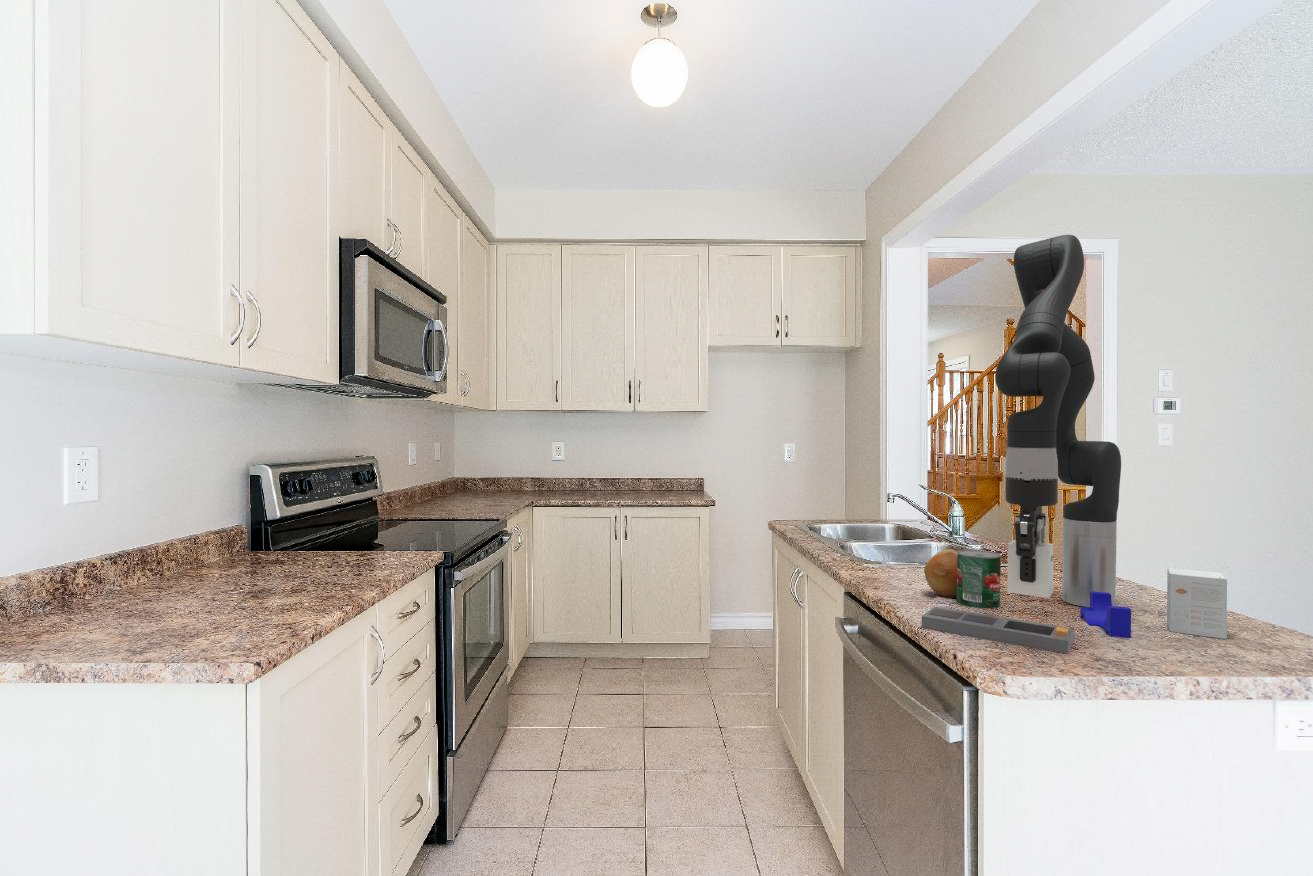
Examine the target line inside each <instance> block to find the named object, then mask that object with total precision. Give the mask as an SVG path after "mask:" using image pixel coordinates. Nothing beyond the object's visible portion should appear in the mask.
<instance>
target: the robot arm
mask: <svg viewBox="0 0 1313 876" xmlns="http://www.w3.org/2000/svg"><path fill="white" fill-rule="evenodd" d="M1084 268H1085V256H1084V251H1083V247H1082V243H1081V242H1080V240H1079V238H1078V237H1077V236H1075V235H1074V234H1063V235H1057V236H1053V237H1049V238H1046V239H1042V240H1038V241H1033V242H1030V243H1027V244H1022V245H1020V246H1018V247H1017V248H1016V249H1015V251H1014V253H1013V269H1014V275H1015V278H1016V281H1017V286H1018V289H1019V293H1020V295H1021V296H1020V297H1021V299H1022V303H1023V306H1024V310H1023V311H1022V313H1021V315H1020V317H1019V321H1018V324H1017V328H1016V332H1015V338H1014V340H1013V341H1012V343H1011V345H1010V346H1009V347H1008V348H1007V350H1006V351H1005V353H1004V354H1003V355H1002V356H1001V359H1000V360H999V361H998V363H997V367H996V370H995V375H994V376H995V378H994V381H995V385H996V387H997V389H998V391H999V392H1000V393H1002V394H1003V395H1004V396H1006V397H1012V398H1013V397H1014V398H1018V397H1024V398H1025V397H1043V398H1042V401H1041V402H1040V404H1039V405H1038V406H1036V407H1034V408H1031V409H1026V410H1021V411H1017V412H1014V413H1011V414H1010V415H1009V416H1008V419H1007V449H1006V450H1007V451H1006V456H1005V486H1004V487H1005V494H1004V495H1005V502H1006V503H1007V504H1011V505H1018V506H1019V508H1020V509H1019V513H1018V515H1015V520H1014V521H1015V522H1014V525H1013V526H1014V529H1015V533H1014V534H1015V540H1016V554H1017V556H1019V558H1020V580H1021V581H1023V582H1031V583H1033V582H1035V580H1036V557H1037V546H1039V545H1040V544H1041V543H1045V539H1046V525H1047V515H1046V513H1043V510H1042V509H1043V508H1042V507H1052V506H1053V507H1054V506H1055V505H1057V504H1058V499H1059V498H1058V495H1059V493H1058V492H1059V491H1058V490H1059V489H1058V488H1059V487H1058V486H1059V483H1058V482H1059V481H1061V482H1062V483H1063V484H1066V485H1070V486H1071V485H1073V486H1085V487H1092V490H1091V494H1090V495H1089V496H1087V497H1085V498H1083V499H1081V500H1076V501H1073V502H1068V503H1066V504H1065V505H1064V506H1063V512H1062V514H1063V515H1062V517H1063V521H1062V525H1063V527H1062V529H1063V530H1062V531H1063V533H1062V538H1063V539H1062V581H1061V583H1062V585H1061V586H1062V587H1061V589H1062V590H1061V591H1062V592H1061V594H1062V595H1061V596H1062V597H1061V599H1062V601H1063V602H1065V603H1068V604H1071V605H1075V606H1078V607H1089V608H1090V591H1091V592H1106V593H1110V594H1111V601H1112V606H1116V595H1117V594H1116V591H1117V590H1116V588H1117V586H1116V585H1117V538H1118V537H1117V536H1118V535H1117V533H1118V532H1117V527H1118V526H1117V524H1118V523H1117V519H1118V518H1117V517H1118V509H1119V503H1120V486H1121V473H1122V455H1121V451H1120V448H1119V447H1118V445H1117V444H1116V443H1115V442H1112V441H1103V440H1102V441H1101V440H1100V441H1099V440H1098V441H1097V440H1078V438H1077V436H1076V435H1077V434H1076V421H1077V417H1078V415H1079V413H1080V411H1081V409H1082V408H1083V405H1084V403H1085V402H1086V401H1087V398H1088V396H1090V393H1091V391H1092V389H1093V387H1094V383H1095V379H1096V377H1095V371H1094V365H1093V360H1092V356H1091V355H1092V354H1091V350H1090V347H1089V346H1088V344H1087V342H1086V341H1085V340H1084V339H1083V338H1082V336H1080V335H1079V334H1078V333H1077V332H1076V331H1075V330H1073V329H1072V327H1070V326H1069V325H1068V324H1067V323H1066V318H1067V315H1068V312H1069V308H1070V306H1071V305H1072V302H1073V300H1074V297H1075V296H1076V294H1077V290H1078V288H1079V287H1080V284H1081V281H1082V277H1083V274H1084ZM1024 544H1029V545H1030V549H1023V545H1024Z"/></svg>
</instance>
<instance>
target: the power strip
mask: <svg viewBox="0 0 1313 876" xmlns="http://www.w3.org/2000/svg"><path fill="white" fill-rule="evenodd" d="M921 628H922V629H926V630H932V631H938V632H943V633H949V634H955V635H959V636H965V637H971V638H976V639H977V638H978V639H983V640H986V641H987V640H988V641H992V642H993V641H994V642H999V643H1004V644H1011V645H1016V646H1021V647H1028V648H1033V649H1037V650H1043V651H1049V652H1053V653H1054V652H1055V653H1061V654H1065V655H1066V654H1067V655H1068V654H1069V653H1070V651H1071V649H1072V647H1073V645H1074V642H1075V628H1072V627H1067V626H1065V627H1064V626H1059V625H1053V624H1047V623H1040V622H1034V621H1028V620H1022V619H1016V618H1008V617H1004V616H999V615H997V616H996V615H992V614H991V615H990V614H983V613H979V612H977V613H976V612H974V611H973V612H972V611H965V610H958V609H952V608H948V607H947V608H946V607H941V606H933V607H932V608H930V609H929V610H928V611H927V612H925V613H924V614H922V615H921Z"/></svg>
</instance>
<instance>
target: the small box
mask: <svg viewBox="0 0 1313 876" xmlns="http://www.w3.org/2000/svg"><path fill="white" fill-rule="evenodd" d="M1166 570H1167V576H1166V577H1167V581H1166V582H1167V583H1166V585H1167V587H1166V588H1167V591H1166V622H1167V623H1166V624H1167V629H1168V631H1169V632H1170V633H1176V634H1177V633H1178V634H1184V635H1186V634H1187V635H1193V636H1201V637H1207V638H1215V639H1223V640H1227V638H1228V628H1227V627H1228V626H1227V625H1228V623H1227V622H1228V621H1227V619H1228V617H1227V616H1228V614H1227V613H1228V607H1227V605H1228V603H1227V602H1228V580H1227V578H1226V576H1225V575H1224V573H1222V572H1215V571H1207V570H1206V571H1205V570H1204V571H1203V570H1194V569H1193V570H1192V569H1185V568H1184V569H1181V568H1171V567H1168V568H1167V569H1166Z"/></svg>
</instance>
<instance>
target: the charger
mask: <svg viewBox="0 0 1313 876" xmlns="http://www.w3.org/2000/svg"><path fill="white" fill-rule="evenodd" d="M1023 549H1030V545H1029V544H1024V545H1023ZM1054 549H1055V548H1054V543H1049V542H1048V543H1046V542H1044V543H1041V544H1040V545H1039V546H1037V557H1036V580H1035V582H1033V583H1031V582H1023V581H1021V580H1020V558H1019V556H1017V554H1016V539H1013V540H1011V541H1010V542H1008V544H1007V587H1006V588H1007V589H1006V590H1007V591H1006V592H1007V593H1010V594H1018V595H1025V596H1031V597H1039V598H1046V599H1048V598H1049V599H1050V598H1051V596H1052V594H1053V593H1054V555H1055V554H1054V551H1055V550H1054Z"/></svg>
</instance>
